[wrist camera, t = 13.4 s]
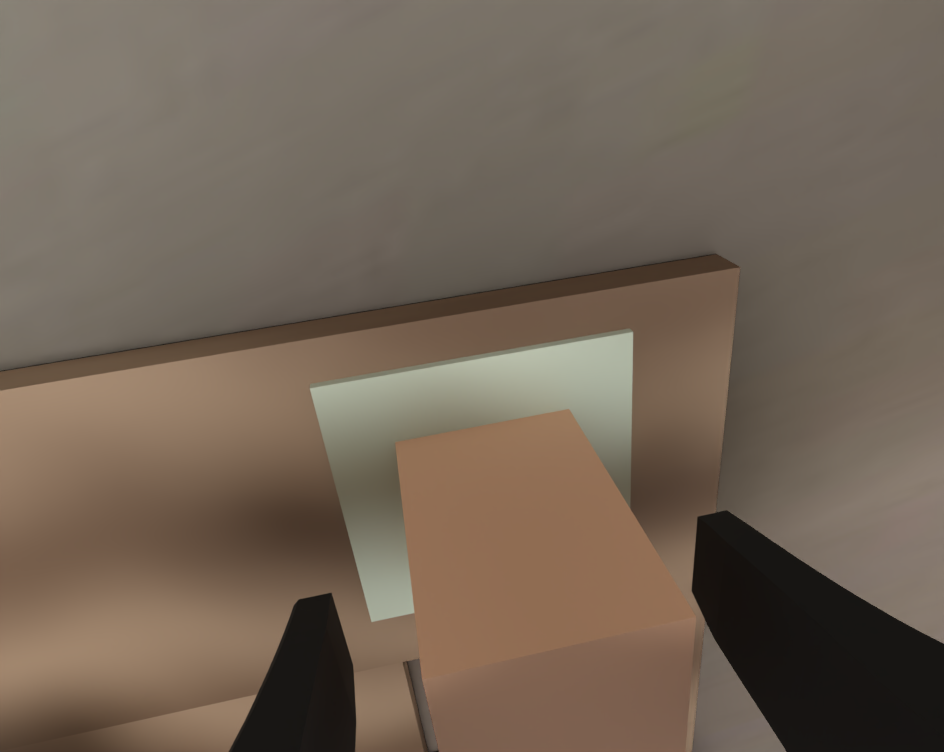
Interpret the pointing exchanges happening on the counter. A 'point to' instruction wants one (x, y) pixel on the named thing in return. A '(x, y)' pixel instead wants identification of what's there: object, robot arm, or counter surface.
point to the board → (314, 491)
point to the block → (539, 596)
